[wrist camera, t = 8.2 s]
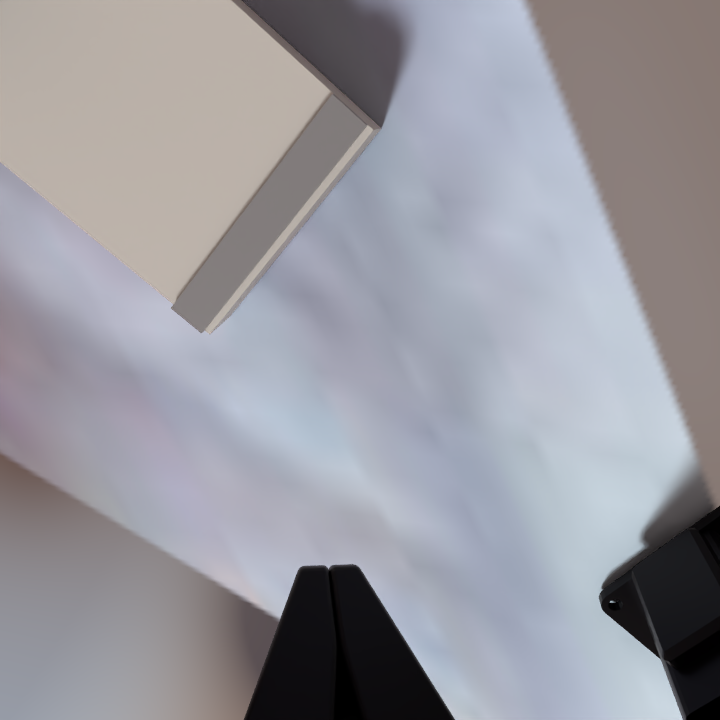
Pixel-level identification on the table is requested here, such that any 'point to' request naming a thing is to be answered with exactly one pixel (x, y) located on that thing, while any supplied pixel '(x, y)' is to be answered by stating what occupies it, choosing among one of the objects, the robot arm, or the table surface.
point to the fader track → (173, 136)
